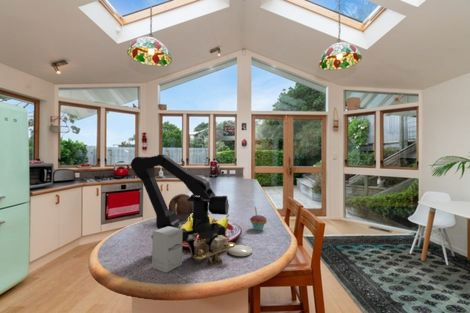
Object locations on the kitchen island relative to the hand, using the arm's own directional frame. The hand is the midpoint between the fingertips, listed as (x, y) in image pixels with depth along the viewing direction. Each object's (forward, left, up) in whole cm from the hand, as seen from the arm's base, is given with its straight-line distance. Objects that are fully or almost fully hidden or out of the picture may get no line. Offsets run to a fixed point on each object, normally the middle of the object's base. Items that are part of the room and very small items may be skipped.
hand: (199, 254), depth 94 cm
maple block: (+9, +4, -1) cm, 10 cm away
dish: (+16, -2, -1) cm, 16 cm away
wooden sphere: (+8, +55, -1) cm, 56 cm away
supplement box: (-13, -2, -1) cm, 13 cm away
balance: (+3, -6, -1) cm, 7 cm away
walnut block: (0, 0, -1) cm, 1 cm away
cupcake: (+39, +21, -1) cm, 45 cm away
